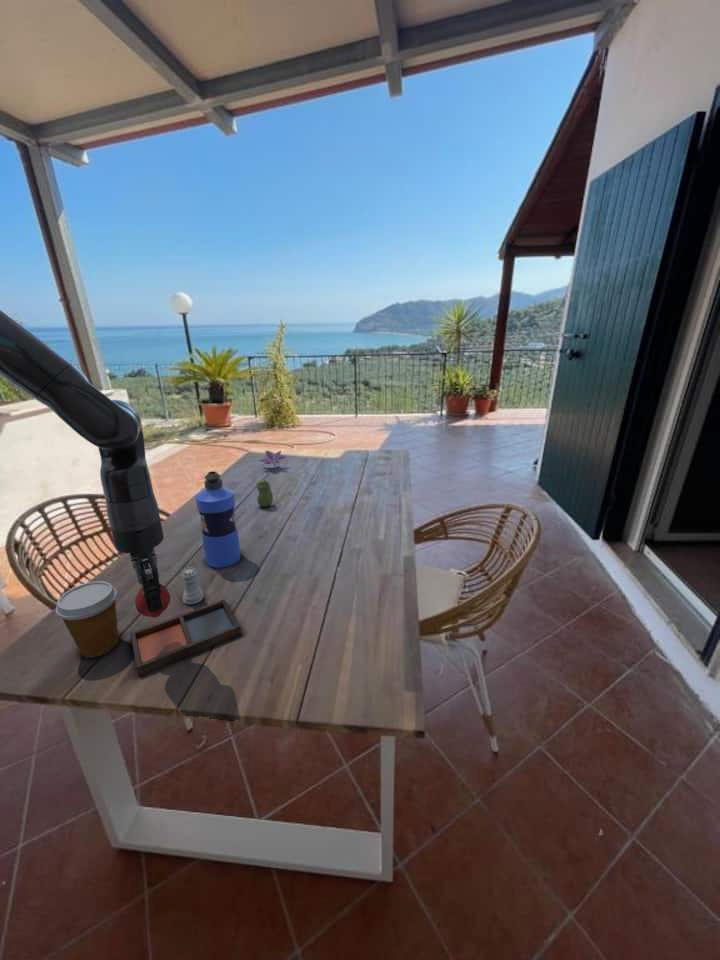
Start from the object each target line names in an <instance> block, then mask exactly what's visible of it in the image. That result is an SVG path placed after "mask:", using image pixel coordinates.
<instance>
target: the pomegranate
mask: <svg viewBox="0 0 720 960" xmlns="http://www.w3.org/2000/svg"><path fill="white" fill-rule="evenodd" d="M159 584H160V589H161V590H162V592H161V594H160V597H161V602H162V609H161V610H158V611H155V612H153V613H150V612H149V610H148V606H147V601H146V598H145V597H144V595H143V592H144V591H143V587H142V586H141V587H140V588H139V590H138V592H137V594H136V596H135V598H134V605H135V609H136V610H137V612H138V613H139V614H141V615H142V616H144V617H148V618H154V619H155V618H158V617H160V615H162V614H163V613H164V612H165V611H166V610H167V609H168V607H169V605H170V602H171V595H170V591H169V589H168V587H166V586H164V585H163V584H162V583H160V582H159ZM153 587H155V586H153ZM150 588H151V587H150Z"/></svg>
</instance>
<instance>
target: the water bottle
mask: <svg viewBox="0 0 720 960" xmlns="http://www.w3.org/2000/svg"><path fill="white" fill-rule="evenodd" d="M221 477H222V475H221V474H219V473H218V472H217V471H209V472H207V474H205V476H204V479H205V480H204V488H205V489H204V490H202V491H200V492H199V493H197V494H196V495H195V504H196V508H197V511H198V514H199V517H200V521H201V538H202V544H203V550H204V557H205V564H206V565H207V566H209V567H211V568H214V569H215V568H216V569H217V568H220V569H221V568H227V567H230V566H232V565H235V564H237V563H238V562H239V561H240V559H241V557H242V556H241V555H242V554H241V548H240V539H239V531H238V526H237V522H236V518H235V511H236V510H235V506H236V499H235V492H234V490H233V489H230V488H226V487H223V480H222V478H221Z"/></svg>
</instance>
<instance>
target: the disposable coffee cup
mask: <svg viewBox="0 0 720 960" xmlns="http://www.w3.org/2000/svg"><path fill="white" fill-rule="evenodd" d="M117 595H118V592H117V589H116V587H114V586H113V585H112V583H110V582H108V581H104V580H103V581H102V580H97V581H89V582H85V583H82V584H79V585H76V586H75V587H72V588H70V589H68V590H66V591H65V592H64V593H63V594H62V595H60V596H59V598H58V599H57V602H56V606H55V612H56V615H57V616H58V617H59V618H61V619H62V621H63V623H64V624H65V626H66V628H67V630H68V631H69V634H70V636H71V638H72V639H73V641H74V643H75V645H76V647H77V649H78V650H79V653H80V654H81V655H82V656H83V657H84V658H97V657H100V656H102V655H105V654H106V653H109V652H110V651H112V650H113V649H115V647H116V646H117V645H118V643H119V629H118V617H117V604H116V598H117Z"/></svg>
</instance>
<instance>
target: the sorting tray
mask: <svg viewBox="0 0 720 960" xmlns="http://www.w3.org/2000/svg"><path fill="white" fill-rule="evenodd" d="M129 635H130V640H131V644H132V650H133V656H134V660H135V667H136V671H137V674H138V677H141V676H144V675H147V674H148V673H151V672H153V671H156V670H158V669H161V668H163V667H166V666H168V665H171V664H173V663H175V662H178V661H180V660H183V659H185V658H187V657H190V656H192V655H194V654H198V653H200V652H202V651H204V650H207V649H209V648H211V647H214V646H217V645H219V644H221V643H223V642H226V641H228V640H231V639H233V638H236V637H238V636H240V635H242V628H241V625H240V623H239V622H238V620H237V617H236V616H235V615H234V613H233V611H232V609H231V608H230V606H229V604H228V603H227V600H226V599H225V598H224V599H221V600H218V601H214V602H212V603H209V604H207V605H206V604H205V605H204V606H201V607H198V608H195V609H193V610H190V611H186V612H184V613H181V614H178V615H176V616H173V617H170V618H166V619H164V620H162V621H159V622H155V623H153V624H150V625H147V626H144V627H142V628H139V629H136V630H134V631H130V632H129Z"/></svg>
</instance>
